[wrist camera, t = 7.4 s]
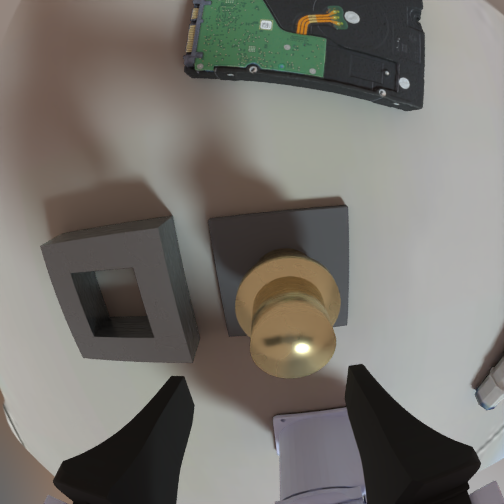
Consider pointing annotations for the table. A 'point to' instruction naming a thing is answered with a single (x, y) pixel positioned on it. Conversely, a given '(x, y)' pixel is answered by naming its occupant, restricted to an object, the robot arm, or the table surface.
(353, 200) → the table surface
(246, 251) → the mat
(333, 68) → the disk drive
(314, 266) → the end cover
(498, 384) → the toothbrush head
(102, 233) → the housing
